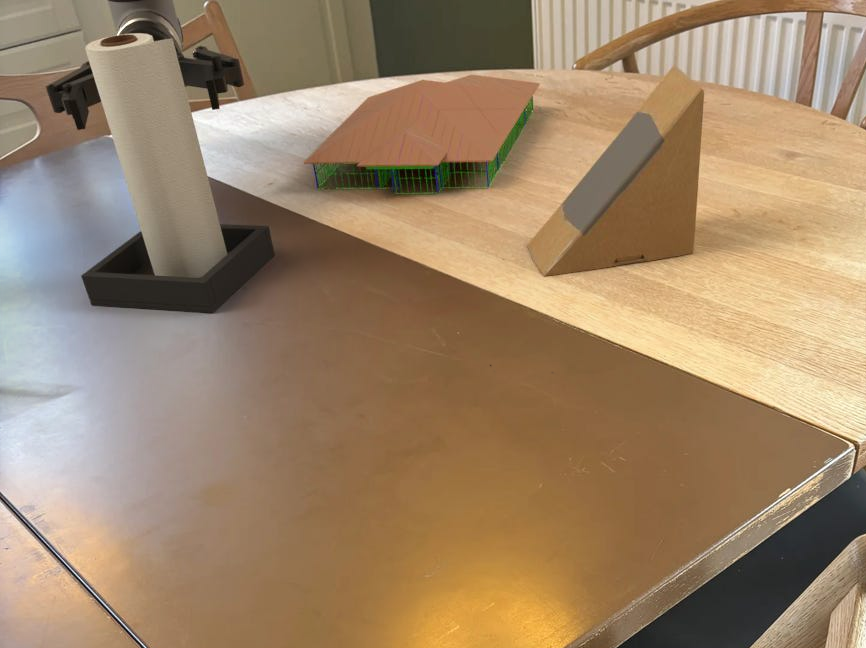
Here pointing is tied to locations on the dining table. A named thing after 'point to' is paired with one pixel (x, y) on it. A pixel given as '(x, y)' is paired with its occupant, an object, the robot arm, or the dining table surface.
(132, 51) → the paper towel roll
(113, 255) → the roll dock
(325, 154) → the house
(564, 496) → the dining table surface
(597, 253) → the sandwich container
